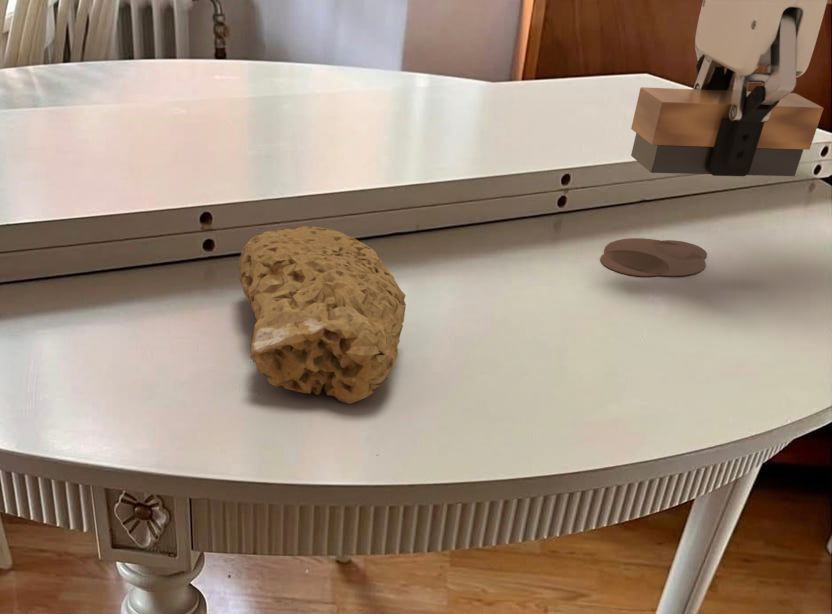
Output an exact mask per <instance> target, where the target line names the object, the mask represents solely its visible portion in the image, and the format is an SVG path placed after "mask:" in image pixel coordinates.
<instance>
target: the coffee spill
mask: <svg viewBox="0 0 832 614" xmlns="http://www.w3.org/2000/svg"><path fill="white" fill-rule="evenodd" d="M603 252H604V253H602V255H601V256H600V258H599V259H600V263H601V264H602V265H603V266H604V267H605V268H607V269H609V270H611V271H614V272H615V273H619V274H622V275H625V276H626V275H627V276H631V277H632V276H633V277H640V278H653V277H671V278H672V277H673V278H675V277H676V278H678V277H688V276H692V275H696V274H698V273H700V272H702V271H704V269H705V267H706V260H705V259H706V258H707V257H708V253H707V251H706V250H705V249H704V248H702V247H701V246H699V245H697V244H695V243H690V242H687V241H681V240H673V239H664V240H661V239H660V240H659V239H654V238H645V237H644V238H643V237H642V238H640V237H635V238H634V237H633V238H622V239H617V240H614V241H611V242H609V243H608V244H606V246H605V247H604V251H603Z"/></svg>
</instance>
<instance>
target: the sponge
mask: <svg viewBox="0 0 832 614" xmlns="http://www.w3.org/2000/svg"><path fill="white" fill-rule="evenodd" d="M238 274H239V276H238V277H239V279H238V280H239V282H240V284H241V286H242V287H241V288H242V291H243V293H244V295H245V297H246V299H247V301H248V303H249V304H250V309H251V310H252V313H253V314H254V317H255V319H256V322H255V323H254V325H253V326H254V327H253V333H252V334H253V335H252V338H251V341H250V342H251V343H250V350H251V352H250V359H251V360H252V361H253V362H254V365H255V367H256V368H257V369H258V371H259V372H260V373H261V374H262V375H264V376H266V377H267V382H268V383H269V384H270V385H272V386H274V387H275V388H278V387H281V386H282V387H283V388H284V389H285V390H289V391H293V392H297V393H302V394H312V393H313V394H315V395H316V396H317V395H320V394H321V392H322V390H323V389H324V391H325V394H326V395H327V396H332V397H334V398H336V399H337V400H338V401H339V402H341V403H345V404H349V405H351V404H353V403H355V402H358V401H361V400H363V399H366V398H368V397H369V396H371V395H372V394H374V392H375V391H373V390H375V389H377V388H379V387H382V384H381V383H383V381H384V380H385V379H387V378H388V376H389V375H390V372H391V370H393V368H394V365H395V363H396V361H397V357H398V354H399V353H398V352H399V351H398V345H399V343H400V341H401V340H400V337H401V334H402V331H403V327H404V324H403V323H404V322H405V312H406V307H407V304H406V301H405V299H406V294H405V293H404V292H403V291H402V289H401V288H400V286H399V284H398V283H397V281H396V280H395V277H394V275H392V274H391V272H390V270H389V269H388V267H387V266H384V264H383V261H382V260H381V258H380V257H379V256H378V254H377V252H376V251H375V250H374V249H373V248H372V247H370V246H368V245H367V244H365V243H363V242H361V241H359V240H358V239H356V238H354V237H352V236H350V235H347V234H346V233H343V232H341V231H337V230H334V229H330V228H326V227H319V226H314V225H313V226H306V225H302V226H300V227H297V228H295V229H292V228H285V229H277V230H267V231H264V232H263V231H262V232H260V233H257V234H256V235H254V236H252V238H251V239H249V240H248V241H247V243H246V244H245V246H243V247H242V249H241V253H240V257H239V263H238Z"/></svg>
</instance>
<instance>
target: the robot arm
mask: <svg viewBox="0 0 832 614" xmlns="http://www.w3.org/2000/svg"><path fill="white" fill-rule="evenodd" d="M827 4H828V0H702V3H701V7H700V12H699V15H698V20H697V25H696V31H695V39H694V40H695V42H694V49H695V54H696V59H697V63H696V73H697V77H696V79H695V83H694V85H693V89H697V90H723V91H733V93H732V99H731V104H730V110H729V118H722V120H721V124H720V128H719V131H718V135H717V138H716V142H715V145H714V149H713V153H712V156H711V160H710V163H709V167H708V172H709V173H710V174H709V175H711V176H713V177H746V176H748V175H747V174H748V173H749V171H750V168H751V165H752V162H753V158H754V155H755V152H756V148H757V145H758V142H759V139H760V135H761V132H762V129H763V126H764V122H767V121H768V120H769V119H770V116H771V112H772V109H773V108H774V107H775V106H776V105H777V104H778V103H779V101H780V100H781V99H782V98H784V97H785V96H786V95H788V94H789V93H793V91H794V90H795V88H796V86H797V78H800V77H801V76H802V75H804V74H805V72H806V71H807V70H808V68H809V65H810V62H811V59H812V57H813V53H814V50H815V47H816V43H817V40H818V36H819V33H820V30H821V26H822V22H823V19H824V15H825V11H826V8H827ZM761 65H763V66H764V67H766V71H765V72H755V71H756V70H758V69H759V66H761ZM725 69H726V71H725ZM750 83H754V84H761V85H757V86H755V87H754V88H753V89H752V90H751V91H750V92H751V93H750V94H749V95H748V96H747V91H748V90H749V84H750ZM746 96H747V97H746Z"/></svg>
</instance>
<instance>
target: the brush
mask: <svg viewBox="0 0 832 614" xmlns="http://www.w3.org/2000/svg"><path fill="white" fill-rule="evenodd" d="M732 93H733V91H723V90H697V89H692V88H668V87H644V86H642V87H640V88H639V93H638V97H637V101H636V106H635V110H634V115H633V119H632V124H631V128H630V129H631V130H632V132H635V135H634V141H633V146H632V150H631V154H630V156H631V158H632V159H634V160H635V161H636V162H637V163H639V164H640V165H641V166H643V167H644V168H645V169H646V170H648V171H649V172H650V173H651V174H678V175H679V174H682V175H683V174H685V175H688V174H689V175H711V174H710V173H709V172H708V167H709V163H710V160H711V156H712V153H713V149H714V145H715V142H716V138H717V135H718V131H719V128H720V124H721V120H722V118H729V110H730V104H731V99H732ZM750 93H751V91H747V96H748V95H749V94H750ZM747 96H746V97H747ZM823 112H824V107H822V106H821V105H819V104H817V103H815V102H812V101H811V100H809V99H808V98H805V97H803V96H802V95H800V94H798V93H796V92H790V93H789V94H788V95H786V96H785V97H784V98H782V99H781V100H780V101H779V103H778V104H777V105H776V106H775V107H774V108H773V109H772V112H771V116H770V119H769V120H768V121H767V122H764V126H763V129H762V132H761V135H760V139H759V142H758V145H757V148H756V152H755V155H754V158H753V162H752V165H751V168H750V171H749V173H748V174H747V175H746V176H760V177H765V176H766V177H795V176H796V174H797V171H798V168H799V165H800V161H801V159H802V156H803V152H804V150H809V151H810V149H811V147H812V144H813V141H814V139H815V135H816V132H817V129H818V126H819V124H820V123H819V122H820V120H821V117H822V115H823Z"/></svg>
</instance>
